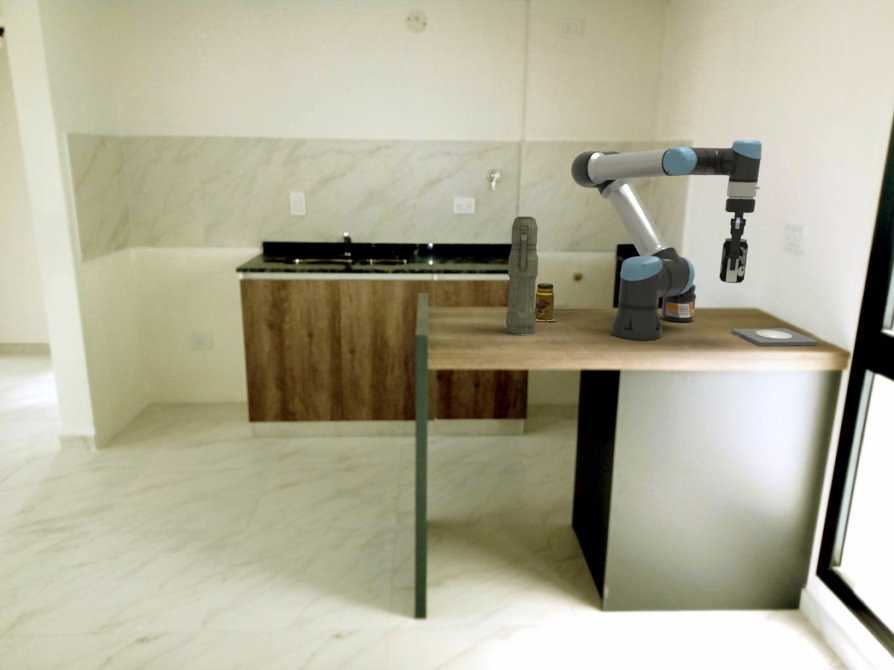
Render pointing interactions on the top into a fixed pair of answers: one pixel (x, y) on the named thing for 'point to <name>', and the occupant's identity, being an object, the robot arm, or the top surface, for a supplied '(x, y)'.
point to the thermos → (522, 276)
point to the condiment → (544, 302)
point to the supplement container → (679, 306)
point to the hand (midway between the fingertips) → (731, 279)
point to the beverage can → (741, 262)
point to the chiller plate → (774, 337)
